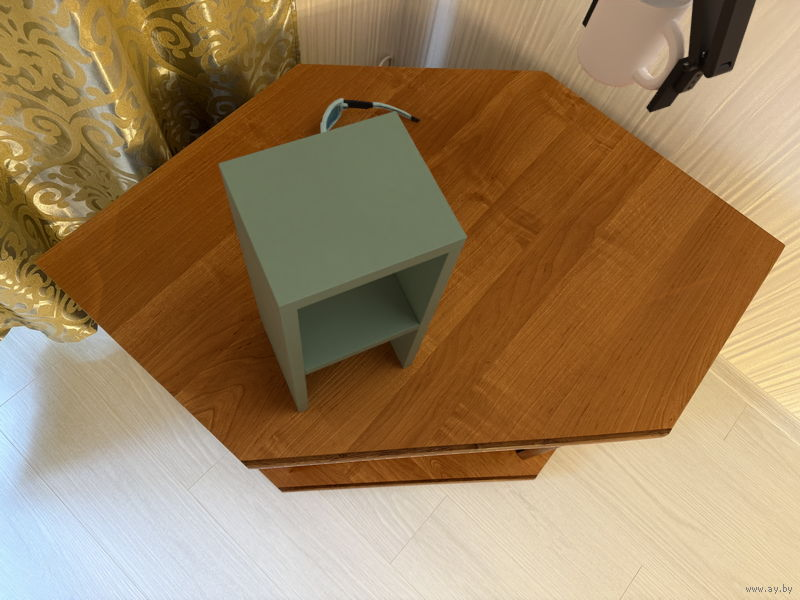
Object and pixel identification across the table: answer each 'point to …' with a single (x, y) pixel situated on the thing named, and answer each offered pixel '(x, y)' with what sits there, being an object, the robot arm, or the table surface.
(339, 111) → the sunglasses
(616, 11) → the mug
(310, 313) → the shelf
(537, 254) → the table surface
